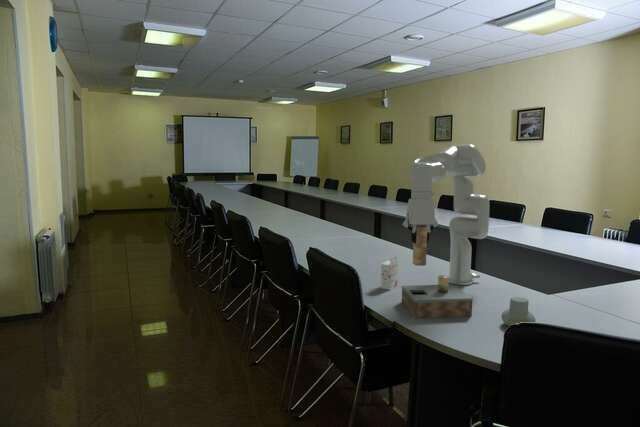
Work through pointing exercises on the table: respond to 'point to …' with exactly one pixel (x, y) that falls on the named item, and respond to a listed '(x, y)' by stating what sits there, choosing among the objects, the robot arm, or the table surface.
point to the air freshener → (517, 312)
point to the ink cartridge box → (389, 273)
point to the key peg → (420, 246)
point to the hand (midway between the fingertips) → (419, 242)
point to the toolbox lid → (437, 292)
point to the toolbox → (436, 307)
